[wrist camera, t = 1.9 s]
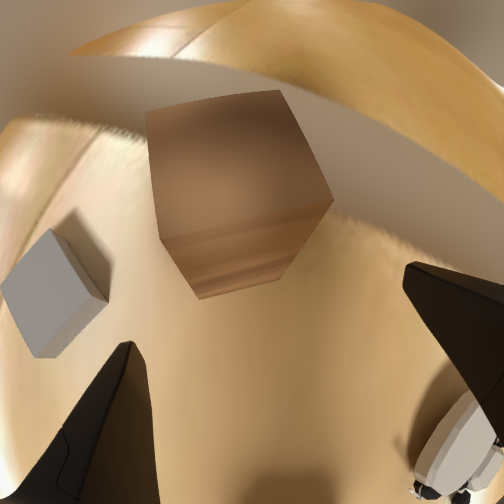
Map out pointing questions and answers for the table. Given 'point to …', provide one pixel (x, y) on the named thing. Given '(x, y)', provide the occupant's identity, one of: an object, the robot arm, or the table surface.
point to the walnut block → (233, 189)
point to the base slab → (51, 296)
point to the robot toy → (458, 454)
